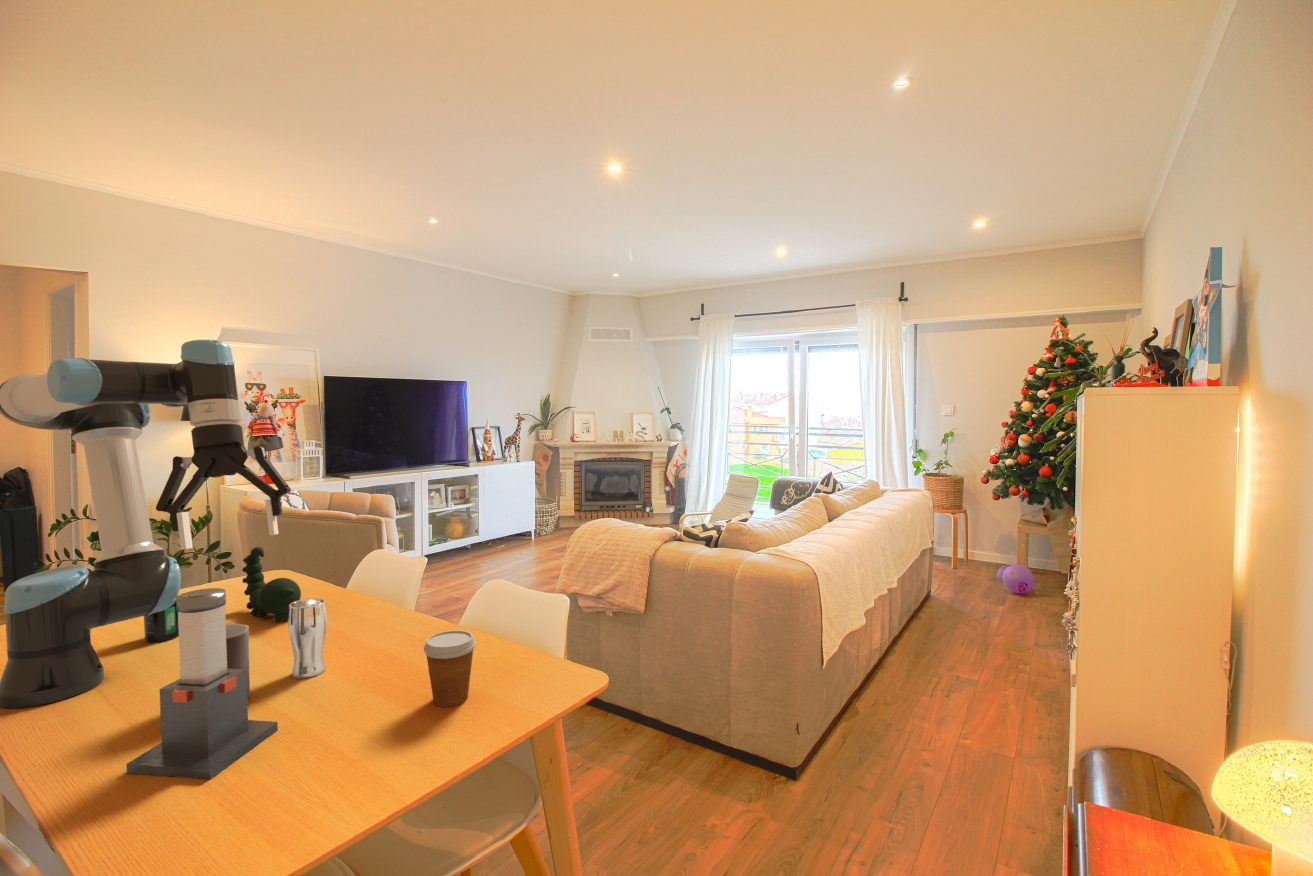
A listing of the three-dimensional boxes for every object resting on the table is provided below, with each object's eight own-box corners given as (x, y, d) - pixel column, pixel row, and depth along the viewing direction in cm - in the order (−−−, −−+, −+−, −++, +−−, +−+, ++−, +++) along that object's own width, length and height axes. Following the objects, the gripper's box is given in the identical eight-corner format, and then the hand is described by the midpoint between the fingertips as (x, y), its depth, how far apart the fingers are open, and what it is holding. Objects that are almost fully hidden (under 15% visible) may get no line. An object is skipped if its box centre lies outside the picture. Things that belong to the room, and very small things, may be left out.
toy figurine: (234, 618, 165) (275, 630, 151) (229, 549, 165) (270, 554, 151) (272, 609, 173) (314, 619, 158) (267, 543, 173) (309, 547, 158)
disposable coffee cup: (427, 716, 110) (426, 651, 110) (421, 694, 119) (420, 634, 118) (481, 704, 115) (480, 642, 114) (471, 684, 123) (470, 626, 122)
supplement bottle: (179, 639, 146) (177, 590, 145) (142, 645, 142) (140, 595, 142) (182, 630, 152) (180, 583, 151) (146, 636, 148) (144, 587, 147)
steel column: (171, 748, 96) (165, 599, 95) (205, 727, 102) (200, 587, 101) (208, 751, 95) (202, 601, 94) (240, 729, 102) (235, 588, 101)
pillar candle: (201, 721, 108) (199, 638, 108) (177, 706, 113) (176, 627, 113) (260, 699, 117) (259, 622, 116) (235, 686, 122) (234, 613, 121)
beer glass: (310, 681, 124) (308, 609, 123) (281, 678, 125) (279, 607, 125) (335, 667, 131) (333, 598, 130) (307, 664, 132) (305, 596, 131)
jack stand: (126, 773, 93) (123, 697, 92) (203, 725, 107) (201, 659, 106) (210, 779, 91) (207, 702, 91) (277, 730, 105) (275, 662, 105)
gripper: (122, 432, 103) (137, 557, 102) (288, 414, 110) (303, 530, 109) (144, 436, 110) (158, 553, 109) (299, 419, 117) (313, 527, 117)
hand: (231, 541), depth 109 cm, fingers open, 13 cm apart
